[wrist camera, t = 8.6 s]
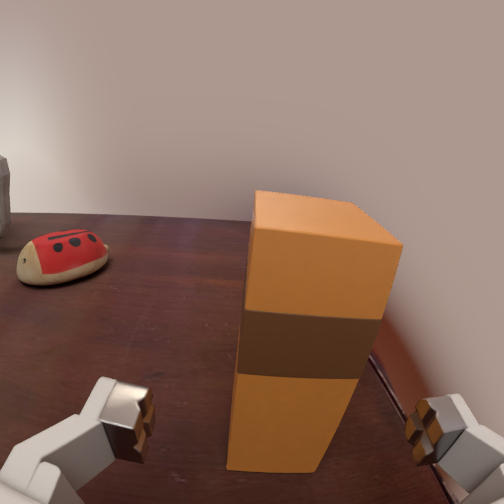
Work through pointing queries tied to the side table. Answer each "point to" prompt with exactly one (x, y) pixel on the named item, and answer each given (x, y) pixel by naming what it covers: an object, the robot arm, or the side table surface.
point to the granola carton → (304, 327)
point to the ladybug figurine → (61, 257)
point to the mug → (4, 197)
